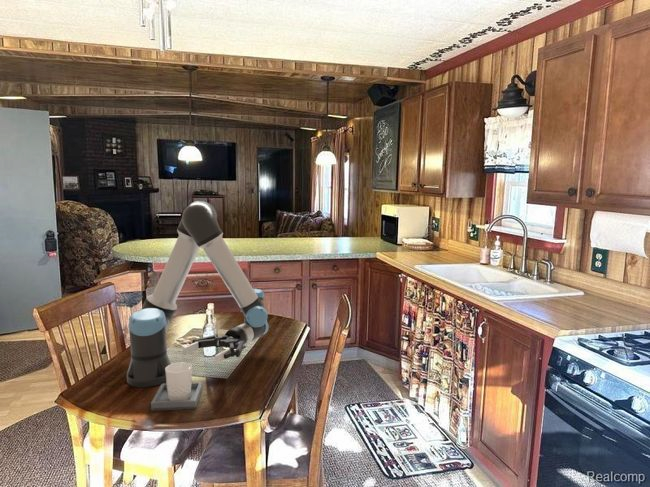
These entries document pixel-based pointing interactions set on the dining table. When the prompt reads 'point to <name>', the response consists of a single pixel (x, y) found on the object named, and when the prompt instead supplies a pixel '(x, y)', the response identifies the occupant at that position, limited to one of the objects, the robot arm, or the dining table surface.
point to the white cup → (179, 381)
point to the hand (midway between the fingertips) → (199, 355)
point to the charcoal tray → (165, 404)
